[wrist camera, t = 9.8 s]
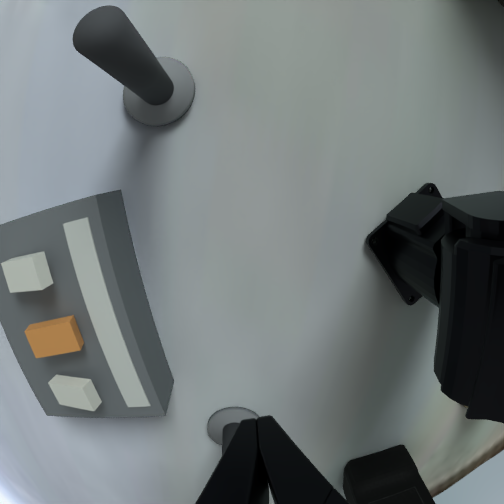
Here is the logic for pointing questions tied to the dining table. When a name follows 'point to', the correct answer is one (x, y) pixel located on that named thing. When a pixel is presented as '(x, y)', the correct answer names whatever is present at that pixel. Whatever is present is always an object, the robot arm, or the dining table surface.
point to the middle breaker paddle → (54, 337)
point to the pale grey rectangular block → (27, 273)
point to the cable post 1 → (135, 67)
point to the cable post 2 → (227, 424)
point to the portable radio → (385, 479)
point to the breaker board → (87, 308)
